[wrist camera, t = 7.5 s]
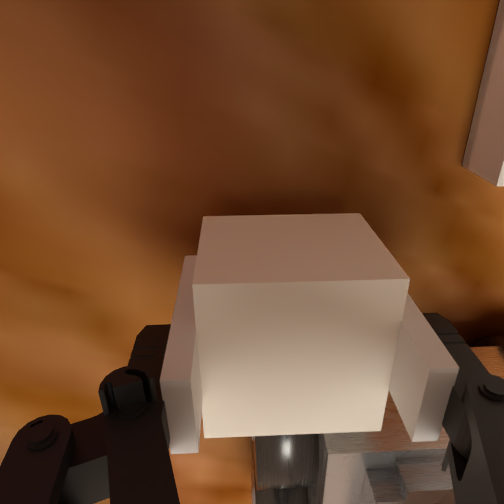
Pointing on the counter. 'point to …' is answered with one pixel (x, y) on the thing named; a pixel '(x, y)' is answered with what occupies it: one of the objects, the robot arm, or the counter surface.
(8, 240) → the counter surface
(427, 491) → the trolley
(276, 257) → the off-white matte cube
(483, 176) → the tray
